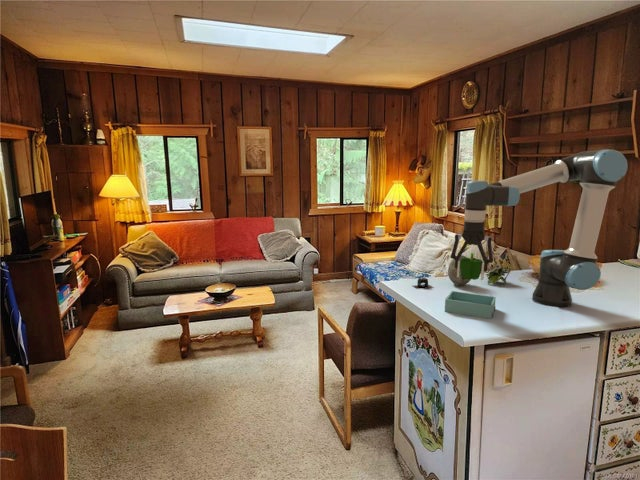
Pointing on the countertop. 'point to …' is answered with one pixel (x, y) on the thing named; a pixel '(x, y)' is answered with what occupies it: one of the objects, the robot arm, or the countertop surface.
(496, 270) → the green leafy plant
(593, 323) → the countertop surface
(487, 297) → the green planter box
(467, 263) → the bell pepper
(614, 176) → the robot arm
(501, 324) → the countertop surface
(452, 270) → the decorative egg
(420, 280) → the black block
